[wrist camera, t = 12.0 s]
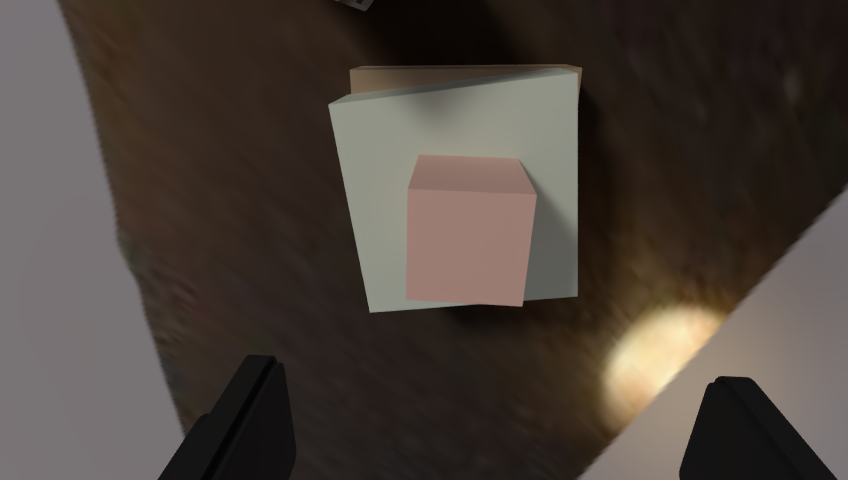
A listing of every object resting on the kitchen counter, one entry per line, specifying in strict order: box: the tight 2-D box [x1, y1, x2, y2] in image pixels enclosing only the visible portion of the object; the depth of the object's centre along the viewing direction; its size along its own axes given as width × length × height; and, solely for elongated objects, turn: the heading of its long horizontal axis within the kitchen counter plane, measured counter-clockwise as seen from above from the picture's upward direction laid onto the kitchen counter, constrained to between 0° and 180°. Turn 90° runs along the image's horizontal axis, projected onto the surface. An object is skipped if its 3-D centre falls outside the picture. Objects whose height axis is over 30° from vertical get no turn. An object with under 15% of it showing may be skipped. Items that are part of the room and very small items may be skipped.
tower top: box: [329, 68, 578, 312], centre depth 27 cm, size 12×12×4 cm
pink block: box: [406, 154, 537, 306], centre depth 22 cm, size 5×5×6 cm
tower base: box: [350, 65, 582, 99], centre depth 31 cm, size 13×13×4 cm
